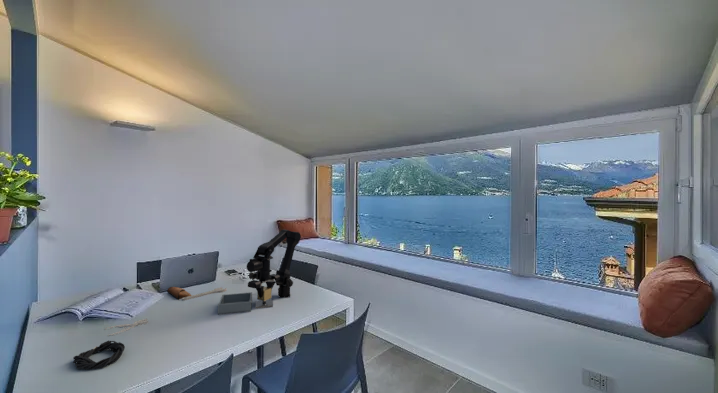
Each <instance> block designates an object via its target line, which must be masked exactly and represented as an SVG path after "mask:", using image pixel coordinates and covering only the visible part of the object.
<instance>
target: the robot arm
mask: <svg viewBox="0 0 718 393" xmlns="http://www.w3.org/2000/svg"><path fill="white" fill-rule="evenodd" d="M301 236H302V235H301V233H300V232H299V231H291V230H290V229H281V230H280V231H279V232H278V233H277V234H276V235H275V236H274V237H272V238H271V239H270V240H269V241H267V242H263V243H262V244H260V245H259V246H258V247H257V249H256V251H255V254H254V255H253V257H252V258H250V259H249V261H248V262H247V263H246V270H247V271H248V272H249V273H248V274H249V275H248V277H249V279H250V281H248V283H247V287H248V288H252V289H255V290H256V291H257V292H258V295H259V297H260V298H262V294H263V289H264V287H265V286H264V285H263V284H264V283H265V285H266V287H269V288H271V291H273V290H272V289H273V288H274V285H275V284H276V286H278V288H277V296H278V298H290V297H291V287H292V286H293V285H294V281H293V280H292V279H291V272H290V268H291V265H292V260H293V257H294V252H295V250H296V246H297V245H299V243H300V240H301ZM284 240H285V242H286V248H285V252H284V255H283V260H282V263H281V267H280V269H278V270H276V272H275V273H272V274H271V272H272V269H271V260H272V259H274V257H273V256H272V254H273V253H274V252H275V249H276V247H277V246H279V245H280V244H281V243H282V242H283V241H284ZM257 292H256V293H257Z"/></svg>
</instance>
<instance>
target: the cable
mask: <svg viewBox="0 0 718 393" xmlns="http://www.w3.org/2000/svg"><path fill="white" fill-rule="evenodd" d="M110 349H111V350H110ZM125 349H126V347H125V344H124V343H122V342H121V341H119V342H117V341H115V340H106V341H104V342H102V343H100V345H99V346H94V348H91V349H89V350H86V351H83V352H80V353H79V354H78V355H75V356H73V360H74V361H73V364H75V365H74V367H75V368H76V369H77V370H79V369H80V370H81V369H83V370H99V369H103V368H104V367H107V365H108V366H110V364H111V365H112V364H114V363H116V362H117V361H118V360H119V359H120V358H121V357H122V355H123V352H124V351H125ZM107 350H110V351H111V352H112V353H113V354H112V355H111V356H109V357H107V358H102V359H101V360H99V361H95V360H93V359H92V358H90V357H91V356H92V355H91V354H93V355H95V354H97V353H99V352H98V351H101V352H104V351H107ZM76 362H77V363H76Z"/></svg>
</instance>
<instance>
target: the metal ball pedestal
mask: <svg viewBox="0 0 718 393" xmlns="http://www.w3.org/2000/svg"><path fill="white" fill-rule="evenodd" d="M273 307H274V301H273V299H268V300H265V301H262V300H256V301H255V309H265V308H266V309H267V308H273Z"/></svg>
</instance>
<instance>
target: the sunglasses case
mask: <svg viewBox="0 0 718 393" xmlns="http://www.w3.org/2000/svg"><path fill="white" fill-rule="evenodd" d="M166 292H167V293H168V294H170V295H171V296H173V297H174V298H175V299H177V300H182V298H184V297H188V296H192V295H193V294H191V293H189V292H188V291H187V290H186V289H184V288H182V287H178V286H177V287H176V286H170V287H168V289H167V291H166Z"/></svg>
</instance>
